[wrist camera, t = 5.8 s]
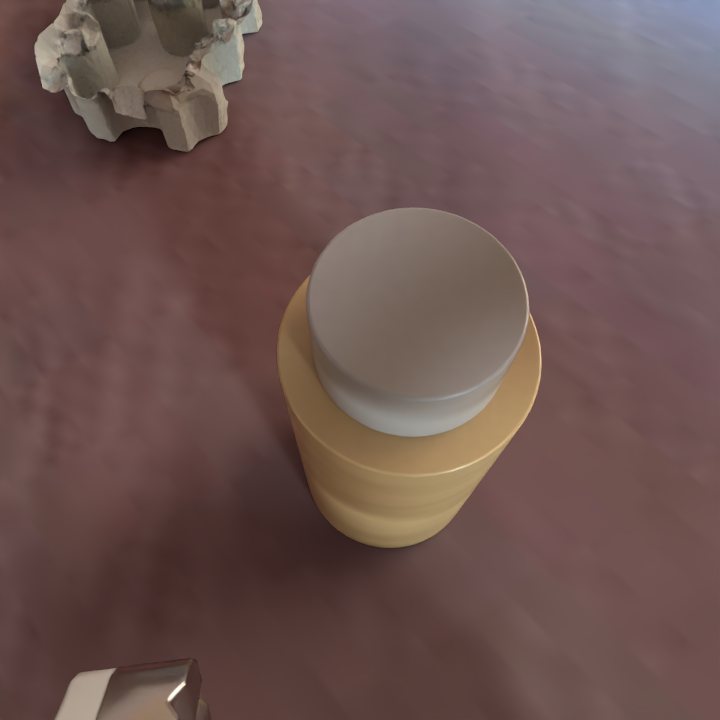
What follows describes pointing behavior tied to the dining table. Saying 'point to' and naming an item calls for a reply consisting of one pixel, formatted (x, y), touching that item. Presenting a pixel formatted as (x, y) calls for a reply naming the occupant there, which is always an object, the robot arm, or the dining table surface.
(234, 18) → the egg carton
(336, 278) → the tan bottle
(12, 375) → the dining table surface
